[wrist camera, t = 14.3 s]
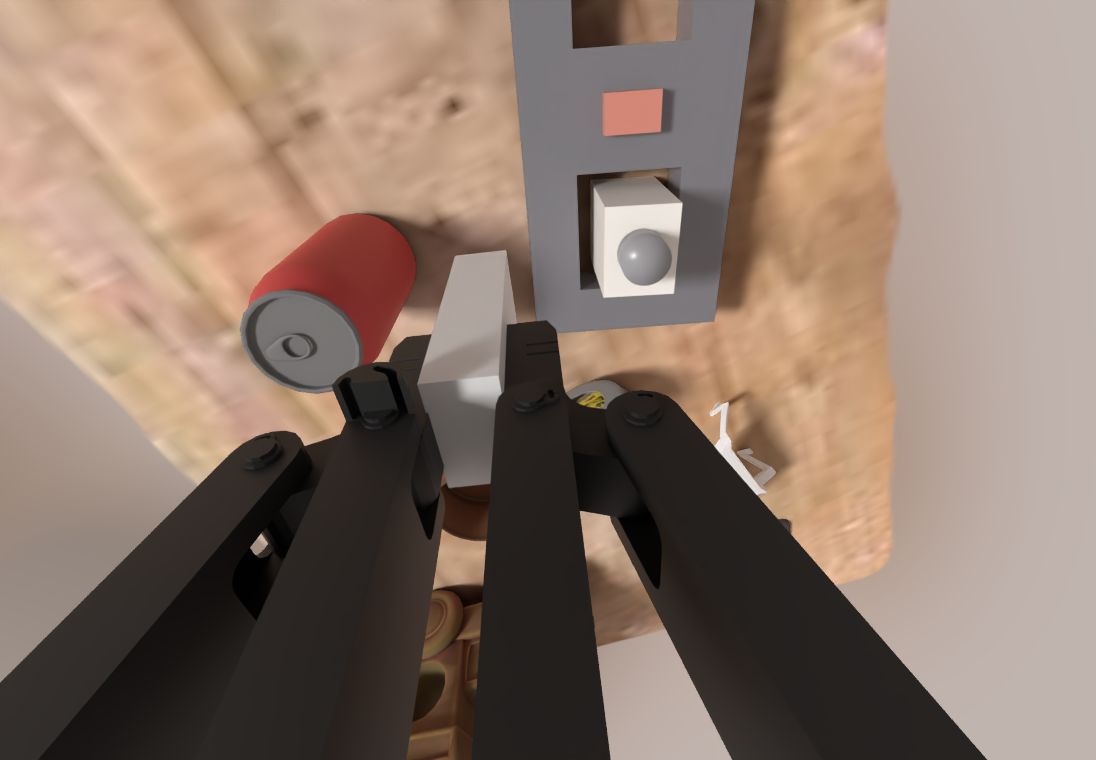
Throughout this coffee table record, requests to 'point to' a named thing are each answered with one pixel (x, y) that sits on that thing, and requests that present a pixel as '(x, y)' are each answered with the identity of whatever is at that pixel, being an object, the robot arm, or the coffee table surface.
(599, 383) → the pocket watch
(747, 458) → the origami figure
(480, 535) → the cup and saucer
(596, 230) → the plug
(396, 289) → the beer can
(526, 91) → the power strip
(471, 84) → the coffee table surface
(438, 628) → the wooden toy train
